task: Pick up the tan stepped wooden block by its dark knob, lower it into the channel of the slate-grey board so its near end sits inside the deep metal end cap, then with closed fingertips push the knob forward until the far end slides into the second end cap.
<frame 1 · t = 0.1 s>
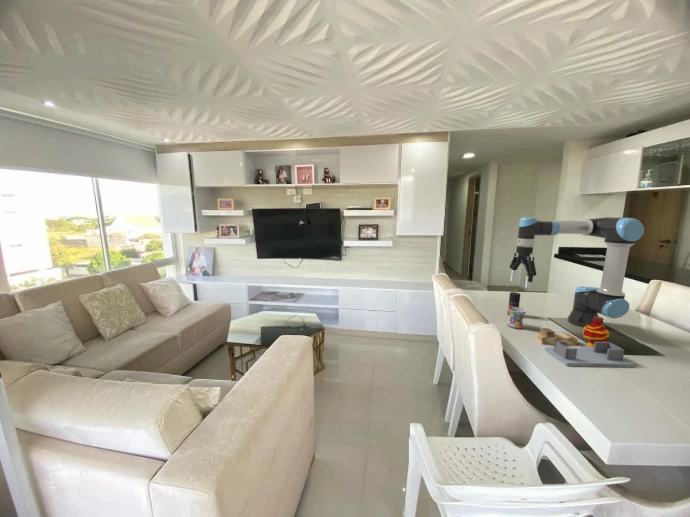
hand: (520, 284, 153), 28 cm above the table, fingers open, 13 cm apart
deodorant: (512, 315, 183), on the table
board: (586, 358, 130), on the table
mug: (515, 326, 166), on the table
potion bottle: (593, 345, 142), on the table
tan stepped wooden block: (556, 342, 146), on the table
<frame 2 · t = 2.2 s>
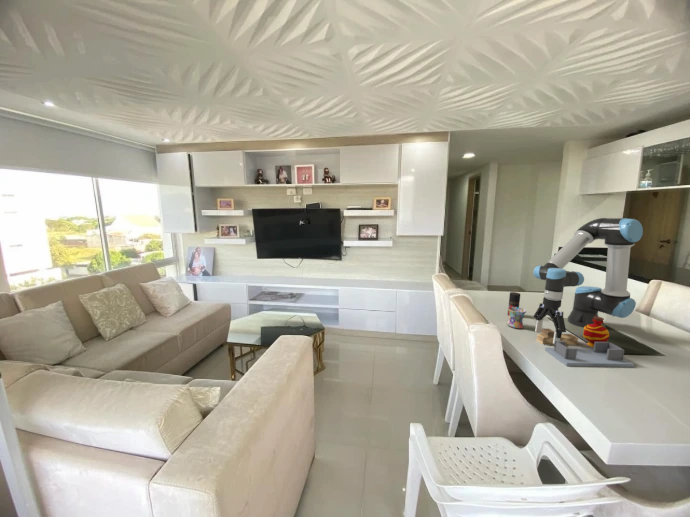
hand: (546, 337, 145), 3 cm above the table, fingers open, 13 cm apart
nothing on the table moved.
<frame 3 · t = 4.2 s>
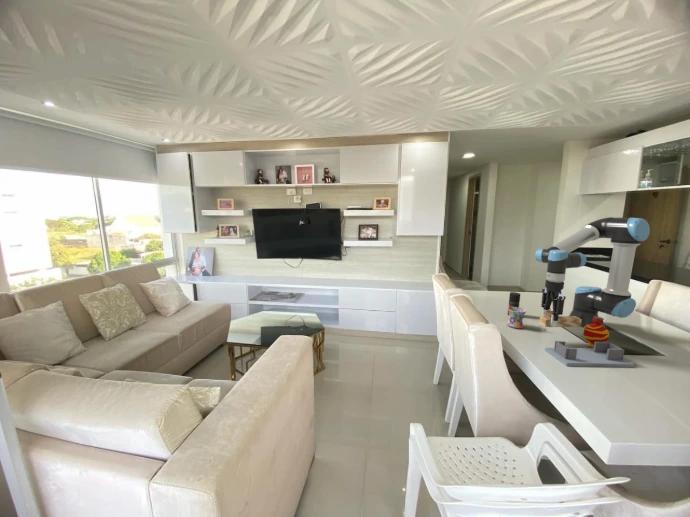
hand: (549, 323, 144), 10 cm above the table, fingers closed on tan stepped wooden block, 4 cm apart
tan stepped wooden block: (559, 325, 144), point 9 cm above the table, touching gripper
everything else where it was.
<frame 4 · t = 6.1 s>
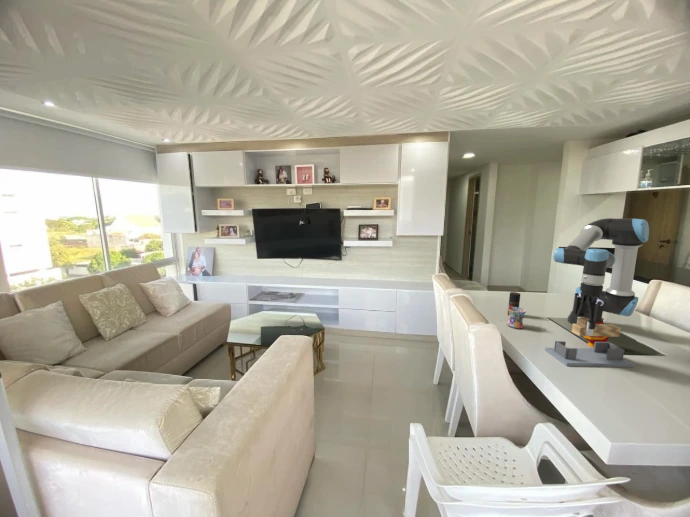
hand: (584, 332, 127), 13 cm above the table, fingers closed on tan stepped wooden block, 4 cm apart
tan stepped wooden block: (595, 334, 127), point 12 cm above the table, touching gripper
everything else where it was.
when the fingers open (2 cm above the table, at t = 8.2 s): tan stepped wooden block stays where it is, resting on board.
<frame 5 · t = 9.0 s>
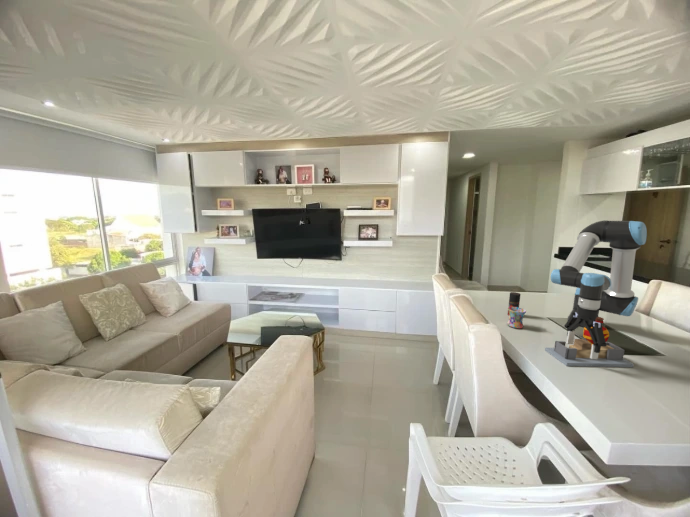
hand: (581, 350, 129), 4 cm above the table, fingers open, 13 cm apart
tan stepped wooden block: (591, 355, 129), point 1 cm above the table, touching board
everything else where it was.
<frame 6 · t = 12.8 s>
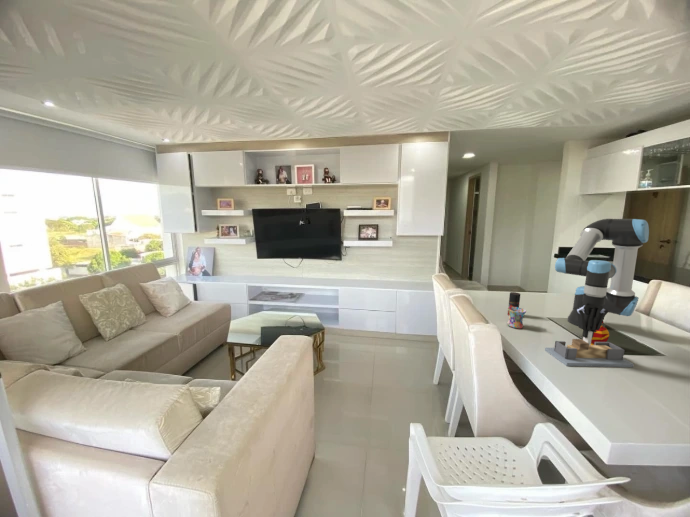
hand: (586, 343, 128), 7 cm above the table, fingers closed
tan stepped wooden block: (589, 355, 129), point 2 cm above the table, touching gripper
everything else where it was.
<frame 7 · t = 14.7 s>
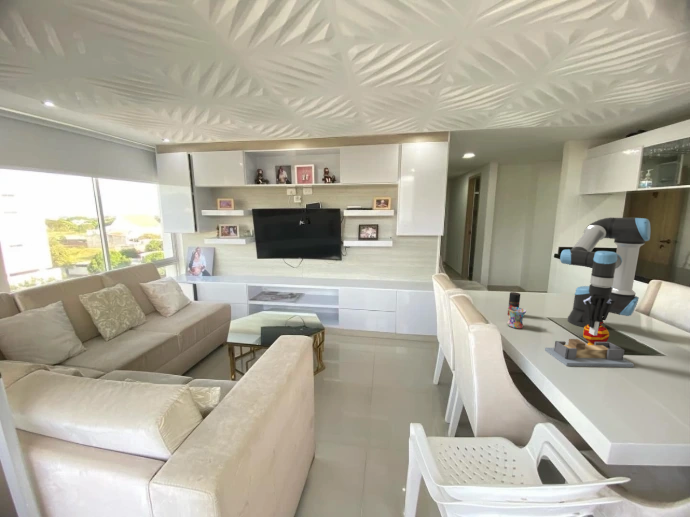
hand: (592, 333, 129), 11 cm above the table, fingers closed
tan stepped wooden block: (585, 355, 129), point 1 cm above the table, touching board
everything else where it was.
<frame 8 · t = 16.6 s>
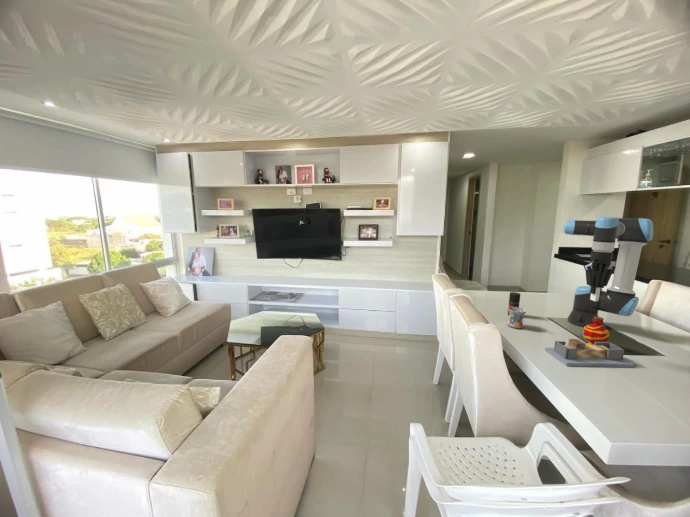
hand: (594, 300, 131), 26 cm above the table, fingers closed
nothing on the table moved.
at the end: tan stepped wooden block 1.0 cm from the target spot on the board, point 1.5 cm above the board's base; tan stepped wooden block tilted 0° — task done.
